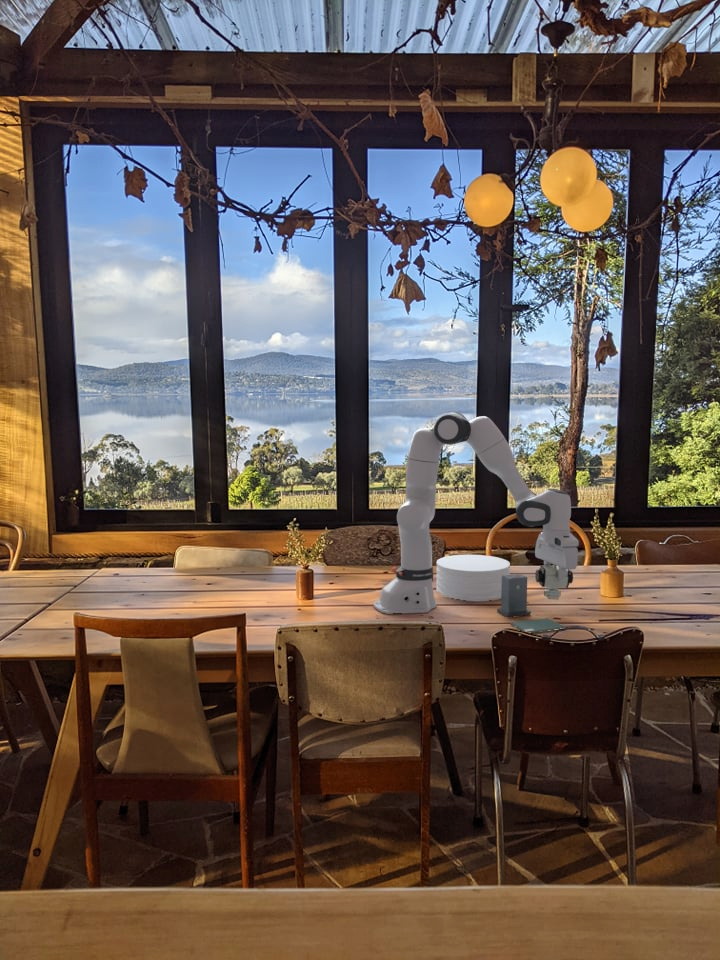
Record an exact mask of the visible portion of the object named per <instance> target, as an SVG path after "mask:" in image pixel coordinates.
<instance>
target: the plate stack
mask: <svg viewBox="0 0 720 960" xmlns="http://www.w3.org/2000/svg"><path fill="white" fill-rule="evenodd" d="M510 568H511V563H510V561H508V560H507V559H504V558H502V557H501V558H500V557H497V556H492V555H491V556H490V555H483V554H455V555H447V556H443V557H441V558H439V559H437V560H436V570H435V571H436V576H435V577H436V581H435V583H436V589H435V590H436V593H437V592H438V593H439V594H438V593H437V594H438V595H440V594H441V595H440V596H442V595H443V596H442V597H444V596H445V597H444V598H447V597H449V598H448V599H451V598H454V599H453V600H456V599H460V600H459V601H463V600H466V601H465V602H490V601H489V600H492V601H497V600H501V589H502V575H511V570H510Z"/></svg>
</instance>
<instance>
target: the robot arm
mask: <svg viewBox="0 0 720 960" xmlns="http://www.w3.org/2000/svg"><path fill="white" fill-rule="evenodd" d="M464 442H466V443H468V444H469V445H470V446H471V448H472V449H473V450H474V452H475V454H476V456H477V458H478V459H479V461H480V462H481V463H482V465H484V467H485V468H486V469H487V470H488V471H489V472H491V473H492V474H495V475H497V477H499V479H501V481H502V482H503V483H504V485H505V486H506V488H507V490H508V491H509V493H510V494H511V496H512V498H513V499H514V502H515V515H516V520H518V522H519V523H520V524H522V525H523V526H525V527H539V526H542V532H540V533H539V534H538V536H537V539H536V542H535V549H534V555H535V558H537V559H539V560H542V561H543V566H552V565H553V566H554V565H556V566H559V573H557V579H560V580H561V579H563V578H564V573H565V571H566V570H570V571H572V570H576V569H577V567H578V561H579V559H578V558H579V550H578V548H577V547H579V545H580V544H579V543H580V541H579V539H578V538H577V537H576V536H575V535H573V533H572V532H571V526H570V519H571V517H572V501H571V497H570V495H569V493H568V492H567V491H565V490H562V489H559V488H547V489H546V490H544V491H543V492H541V493H539V494H536V493H535V492H534V491H532V490H531V489H530V488H529V486H528V485H527V483H526V481H525V479H524V478H523V477H522V475H521V473H520V471H519V470H518V468H517V465H516V460H515V458H514V455H513V451H512V449H511V447H510V445H509V443H508V441H507V440H506V438H505V436H504V434H503V433H502V431H501V430H500V429H499V428H498V426H497V425H496V424H495V422H493V420H492V419H491V418H490V417H488V416H485V415H483V416H482V415H481V416H477V417H474V418H473V419H470V420H469V419H467V418H466V416H464V415H463V414H462V413H460V412H458V411H447V412H444V413H442V414H441V415H439V416H438V417H437V418H436V420H435V421H434V424H433V427H431V428H430V427H429V428H427V427H424V428H418V429H417V430H416V431H414V432H413V434H412V438H411V441H410V444H409V449H408V455H407V462H406V470H405V478H404V481H405V502H404V503H402V504H401V505H400V506H399V508H398V510H397V513H396V521H397V525H398V526H397V527H398V528H397V529H398V534H399V539H400V567H399V568H397V567H396V566H393V567H392V568H391V572H392V573H394V574H395V576H396V577H394V578H393V579H392V580H391V581H389V582H388V583H387V584H385V585H384V586H383V587H382V588H381V591H380V596H379V600H375V601H374V602H373V607H374V610H376V611H378V612H380V613H382V614H385V613H386V615H394V614H393V613H402V614H421V613H424V614H425V613H429V612H430V611H431V610H433V609H435V608H436V607H437V602H436V599H435V592H434V586H433V583H434V567H433V544H432V540H431V533H430V532H431V531H430V523H431V521H433V519H434V517H435V514H436V503H437V502H436V500H437V499H436V498H437V479H438V473H439V471H438V470H439V466H440V465H439V464H440V458H441V457H440V455H441V450H442V448H443V447H444V446H445V445H449V446H450V445H456V444H459V443H460V444H461V443H464ZM551 564H552V565H551Z"/></svg>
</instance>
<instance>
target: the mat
mask: <svg viewBox="0 0 720 960" xmlns="http://www.w3.org/2000/svg"><path fill="white" fill-rule="evenodd" d="M511 624H512V625H513V626H512V625H511ZM510 625H511V626H512V627H514V626H516V627H517V628H516V630H519V629H520V630H523V631H527V632H531V633H533V634H536V633H535V632H540V631H548V630H554V629H560V628H564V627H565V626H564V625H563V624H560V623H558V622H557V621H555V620H552V619H551V618H549V617H544V618H537V619H536V618H535V619H527V620H518V621H512V622H510ZM520 630H519V631H520Z"/></svg>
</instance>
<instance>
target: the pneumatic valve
mask: <svg viewBox="0 0 720 960" xmlns="http://www.w3.org/2000/svg"><path fill="white" fill-rule="evenodd" d="M557 573H559V566H556V565H554V564H553V565H551V566H544V565H539V568H538V569H536V570H535V577H534V578H535V582H536V583H538V584H539V585H540V586H541V587H542V588H545V589H544V590H543V595H544V597H545V598H547V600H555V601H556V600H557V601H558V600H559V599H560V597H561V596H562V591H561V589H559V588H563V589H568V588H569V586H570V584H571V585H572V583H573V582H574V581H573V580H574V574H573V571H572V570H566V571H565V573H564V578H563V579H561V580H560V579H557Z"/></svg>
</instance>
